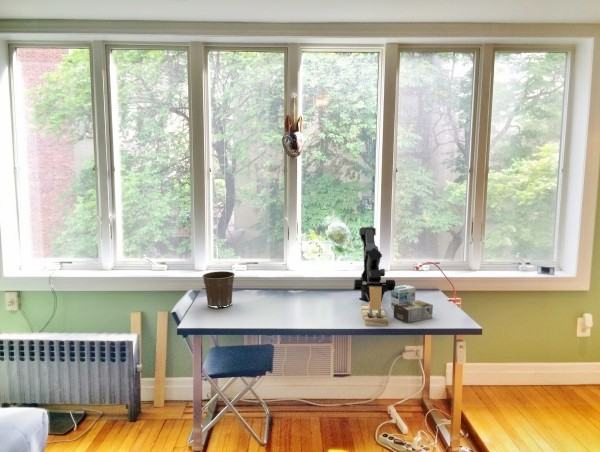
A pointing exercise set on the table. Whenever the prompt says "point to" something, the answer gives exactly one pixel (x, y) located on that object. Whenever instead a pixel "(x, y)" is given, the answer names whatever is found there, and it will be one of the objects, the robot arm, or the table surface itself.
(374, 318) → the beige flat slab
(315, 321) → the table surface
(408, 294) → the light bulb box
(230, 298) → the plant pot
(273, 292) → the table surface
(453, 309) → the table surface
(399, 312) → the coffee box
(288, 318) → the table surface
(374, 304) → the tan tall block
